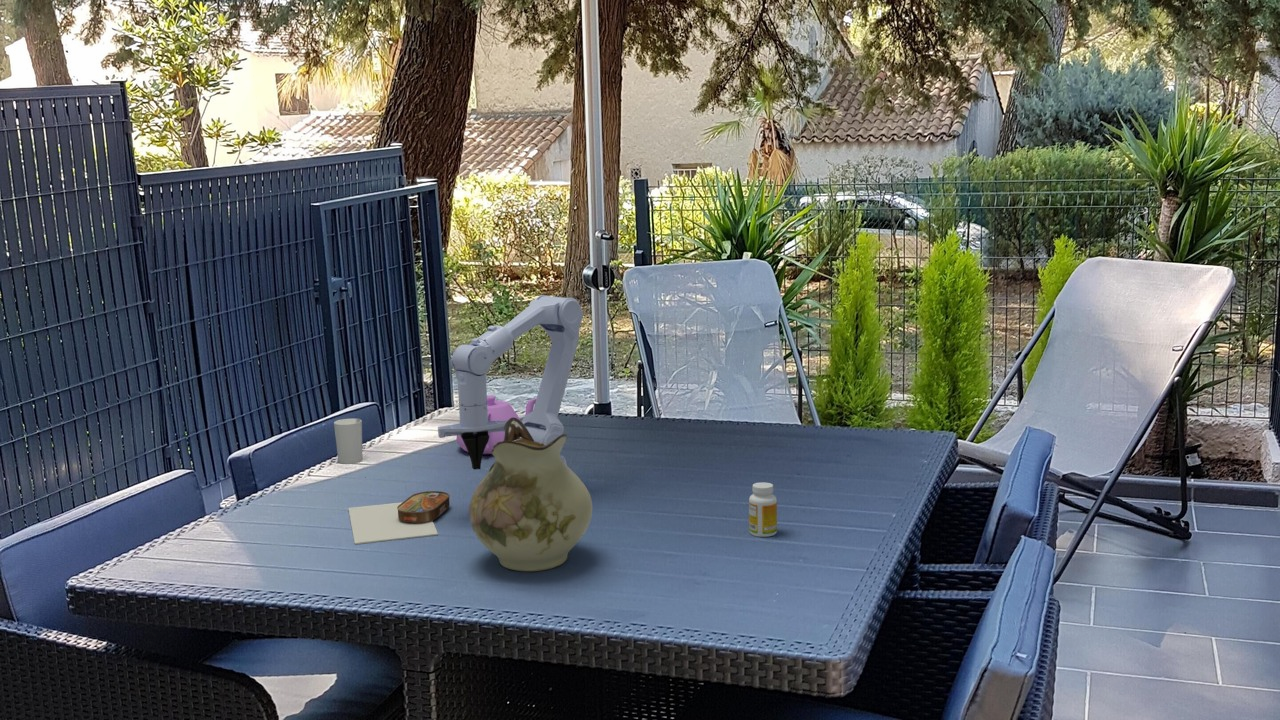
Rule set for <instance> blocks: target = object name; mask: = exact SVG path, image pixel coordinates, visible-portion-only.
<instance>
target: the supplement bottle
mask: <svg viewBox="0 0 1280 720" xmlns="http://www.w3.org/2000/svg"><path fill="white" fill-rule="evenodd" d="M773 493H774V484H773V483H770V482H763V481H762V482H755V483H753V484H752V494H751V495H749V499H748V515H749V518H748V523H749V524H748V529H749V534H750V535H752V536H754V537H760V538H767V537H772V536H775V535H776V534H777V532H778V514H777V513H778V501H777V499H778V498H777V497H776V495H775V494H773Z"/></svg>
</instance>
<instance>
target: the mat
mask: <svg viewBox="0 0 1280 720" xmlns="http://www.w3.org/2000/svg"><path fill="white" fill-rule="evenodd" d="M403 502H404V501H401V502H393V503H392V502H391V503H383V504H373V505H364V506H355V507H354V506H353V507H348V514H349V520H350V525H351V531H352V537H353V543H354V545H361V544H363V545H364V544H370V543H371V544H372V543H380V542H381V543H382V542H390V541H400V540H408V538H409V539H414V538H415V539H416V538H424V537H435V536H439V533H438V531H437V528H436V525H435V523H434V522H433V521H434V520H433V521H430V522H425V523H415V522H402V521H400V520H399V518H398V509H397V507H398V506H399V505H400V504H401V503H403Z"/></svg>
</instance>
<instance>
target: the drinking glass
mask: <svg viewBox="0 0 1280 720" xmlns="http://www.w3.org/2000/svg"><path fill="white" fill-rule="evenodd" d="M333 426H334V427H333V428H334V436H335V445H336V450H337V451H336V454H337V460H338V461H337V462H338V463H339V464H341V465H354V464H358V463H360V462H361V463H362V461H363V421H362V419H360V418H342V419H338V420H334V422H333Z"/></svg>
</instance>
